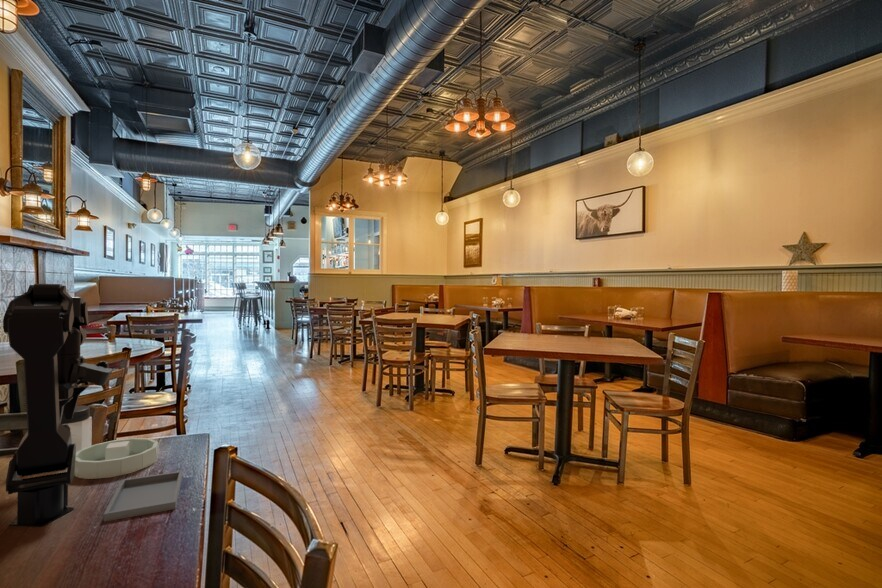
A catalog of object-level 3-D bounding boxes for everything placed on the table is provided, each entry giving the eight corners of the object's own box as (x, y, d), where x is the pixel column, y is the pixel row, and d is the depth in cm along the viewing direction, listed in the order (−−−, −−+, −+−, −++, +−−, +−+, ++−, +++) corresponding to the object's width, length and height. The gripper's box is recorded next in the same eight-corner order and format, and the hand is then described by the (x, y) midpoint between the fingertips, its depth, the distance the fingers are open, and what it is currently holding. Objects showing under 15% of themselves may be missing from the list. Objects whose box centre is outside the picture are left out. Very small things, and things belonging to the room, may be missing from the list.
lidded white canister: (44, 467, 102) (45, 416, 102) (43, 457, 108) (44, 409, 108) (93, 457, 109) (93, 409, 109) (89, 449, 115) (90, 403, 115)
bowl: (122, 481, 95) (122, 463, 95) (53, 478, 96) (53, 460, 96) (171, 454, 111) (172, 439, 111) (112, 452, 112) (112, 437, 112)
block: (126, 465, 103) (126, 445, 103) (105, 468, 101) (105, 448, 101) (129, 459, 106) (129, 440, 106) (108, 462, 104) (109, 443, 104)
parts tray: (175, 510, 83) (175, 501, 83) (103, 523, 78) (103, 514, 78) (182, 478, 97) (182, 470, 97) (122, 487, 92) (122, 479, 92)
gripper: (98, 357, 91) (97, 432, 91) (117, 347, 108) (116, 410, 108) (28, 360, 86) (27, 439, 86) (59, 349, 103) (58, 415, 103)
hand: (62, 424), depth 96 cm, fingers open, 9 cm apart
